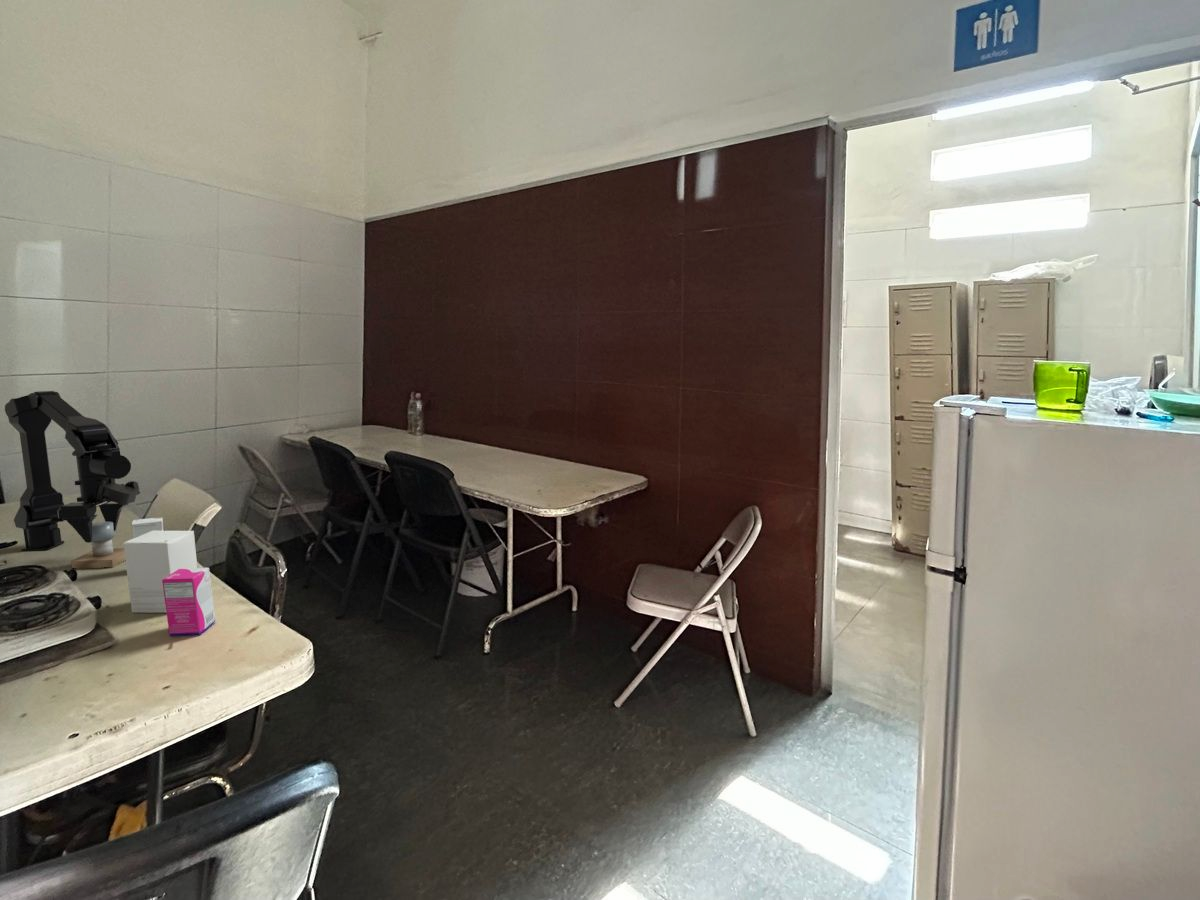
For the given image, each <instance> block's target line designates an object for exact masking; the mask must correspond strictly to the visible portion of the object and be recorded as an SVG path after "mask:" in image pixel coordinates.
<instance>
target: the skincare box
mask: <svg viewBox="0 0 1200 900" xmlns="http://www.w3.org/2000/svg"><path fill="white" fill-rule="evenodd" d="M163 518H164V517H162V516H161V517H150V518H141V519H132V521H131V522H132V523H131V531H132V533H131V534H132V539H134V538H136V537H139V536H141V535H143V534H146V533H148V532H150V531H153V530H154V531H164V521H163Z"/></svg>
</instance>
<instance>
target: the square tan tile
mask: <svg viewBox="0 0 1200 900" xmlns="http://www.w3.org/2000/svg"><path fill="white" fill-rule="evenodd" d="M91 548H92V550H90V551H88V552H87V553H84V554H82V555H81V556H78V557H76V558H74V559H72V560H70V563H71V569H72V568H76V569H75V570H77V569H78V570H79V569H81V570H82V569H105V568H104V567H113V568H114V566H115V567H116V565H117V566H119V565H120V564H122V563H124V562H126V561H125V553H124V547H122V548H119V547H117V548H114V544H113V538H111V539H108V540H103V541H92V542H91ZM123 561H124V562H123ZM121 562H122V563H121ZM119 563H120V564H119ZM102 567H103V568H102Z"/></svg>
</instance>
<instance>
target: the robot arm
mask: <svg viewBox="0 0 1200 900" xmlns="http://www.w3.org/2000/svg"><path fill="white" fill-rule="evenodd" d="M4 412H5V415H6V416H7V418H8V422H9V424H10V425H11V426H12V427H13V428H14V429H15V430H16V431H17V432H18V434H19V439H20V445H21V447H20V448H21V454H22V461H23V462H22V463H23V468H24V476H25V484H26V489H25V490H24V492H23V493H22V495H21V496H20V498H19V508H18V510H17V512H16V514H15V516H14V517H13V523H14V525H15V527H16V528H19V529H21V530H22V531H23V538H24V543H25V544H24V545H25V547H21V548H20V550H21V551H46V550H47V551H48V550H51V549H53V548H55V547H57V546H60V545H62V544H64V543H65V540H62V535H61V528H60V527H59V526H58V523H59V522H65V521H66V522H67V523H68V524H69V525H70V526H71V527H72V528H73V529H74V530H75V532H77V534H78V535H79V537H80V538H81V539H82V540H83V541H84V542H85V544H86V543H92V523H93V521H94V520H95V519H96V518H97V517H98V514H96V513H97V508H98V507H99V509H100V512H101V515H102V516H103V519H104V522H113V528H114V532H116V530H117V527H118V522H119V519H120V515H121V513H122V510H123V508H124V507H126V506H128V505H129V504H131V503H134V502H136V497H137V496H138V495H140V494H141V491H140V488H139V483H138V482H137V481H134V480H131V481H128V482H126V483H116V480H119V479H122V478H123V479H124V478H125V477H126V476H128V475H129V473H130V472H131V469H132V463H131V461H130V460H129V458H127V457H126V456H124V455H122V454H121V449H120V446H119V442H118V440H117V439H116V438H115V436H114V435H113V433H112V432H111V430H110V428H109V427H108V426H107V425H106V424H105V423H103V422H102V421H100V420H98V419H96V418H92V417H87V416H84V415H83V414H81V412H79V411H78V410H76V409H75V408H74V407H73V406H71V404H70V403H68V402H67V401H66V400H64V399H63V398H62V396H61V394H60V393H59V391H54V390H46V391H34V392H31V393H28V394H27V395H24V396H20V397H17V398H13V397H12V398H11V399H10V400H9V401H8V402H7V403H5V405H4ZM52 421H53V422H54V423H55V424H57V425H58V426H59V427H60V428H62V430H63V431H64V432H65V435H64V438H65V440H66V441H67V443H68V444H69V445H70V446H71V448H73V449H74V450H73V451H72V453H71V455H72V456H73V457H76V467H77V474H78V479H77V480H74V485H75V486H79V490H80V496H78V497H76V502H69V503H67V504H65V503H64V498H63V494H62V493H61V492H58V491H57V489H56V488H54V487H53V486H52V479H51V472H50V471H51V470H50V463H49V457H48V456H49V454H48V448H47V447H48V446H47V441H46V430H47V429H48V427H49V426H50V424H51V423H52Z"/></svg>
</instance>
